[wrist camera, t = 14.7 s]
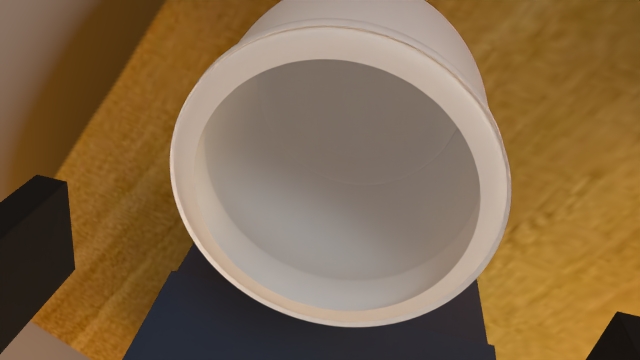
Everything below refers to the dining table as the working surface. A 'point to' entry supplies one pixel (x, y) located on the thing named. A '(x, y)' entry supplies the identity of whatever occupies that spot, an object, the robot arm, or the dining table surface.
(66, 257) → the robot arm
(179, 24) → the dining table surface
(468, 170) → the jar
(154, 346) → the carton
